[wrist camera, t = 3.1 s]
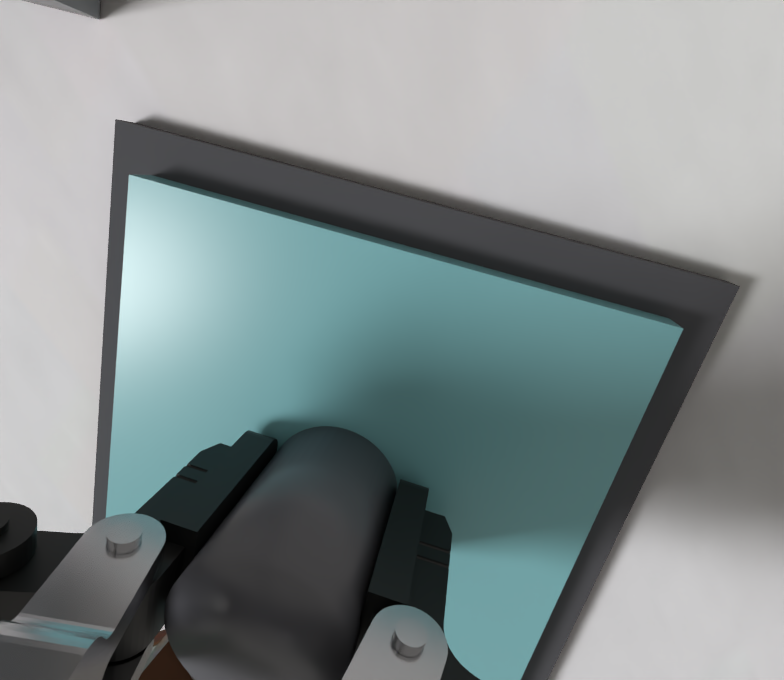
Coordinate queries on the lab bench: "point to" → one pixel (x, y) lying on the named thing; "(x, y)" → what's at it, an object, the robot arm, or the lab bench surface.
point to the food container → (163, 662)
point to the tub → (73, 6)
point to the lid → (363, 425)
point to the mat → (454, 240)
